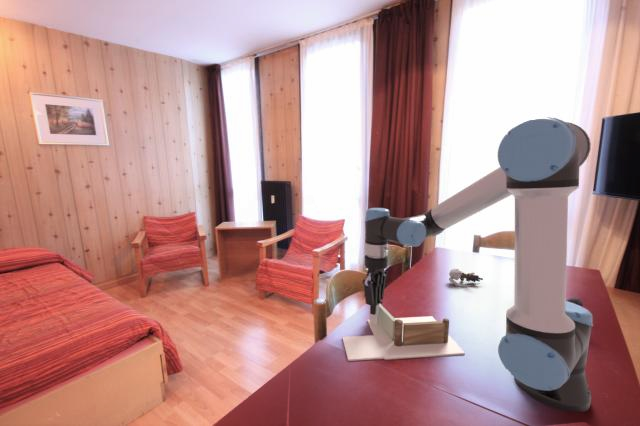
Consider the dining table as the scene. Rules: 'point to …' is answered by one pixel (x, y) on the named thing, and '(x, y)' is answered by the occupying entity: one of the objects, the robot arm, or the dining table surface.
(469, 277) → the toy
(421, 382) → the dining table surface
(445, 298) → the dining table surface
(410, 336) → the fence fixed
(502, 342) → the robot arm
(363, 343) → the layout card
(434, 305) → the dining table surface
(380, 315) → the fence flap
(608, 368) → the dining table surface
